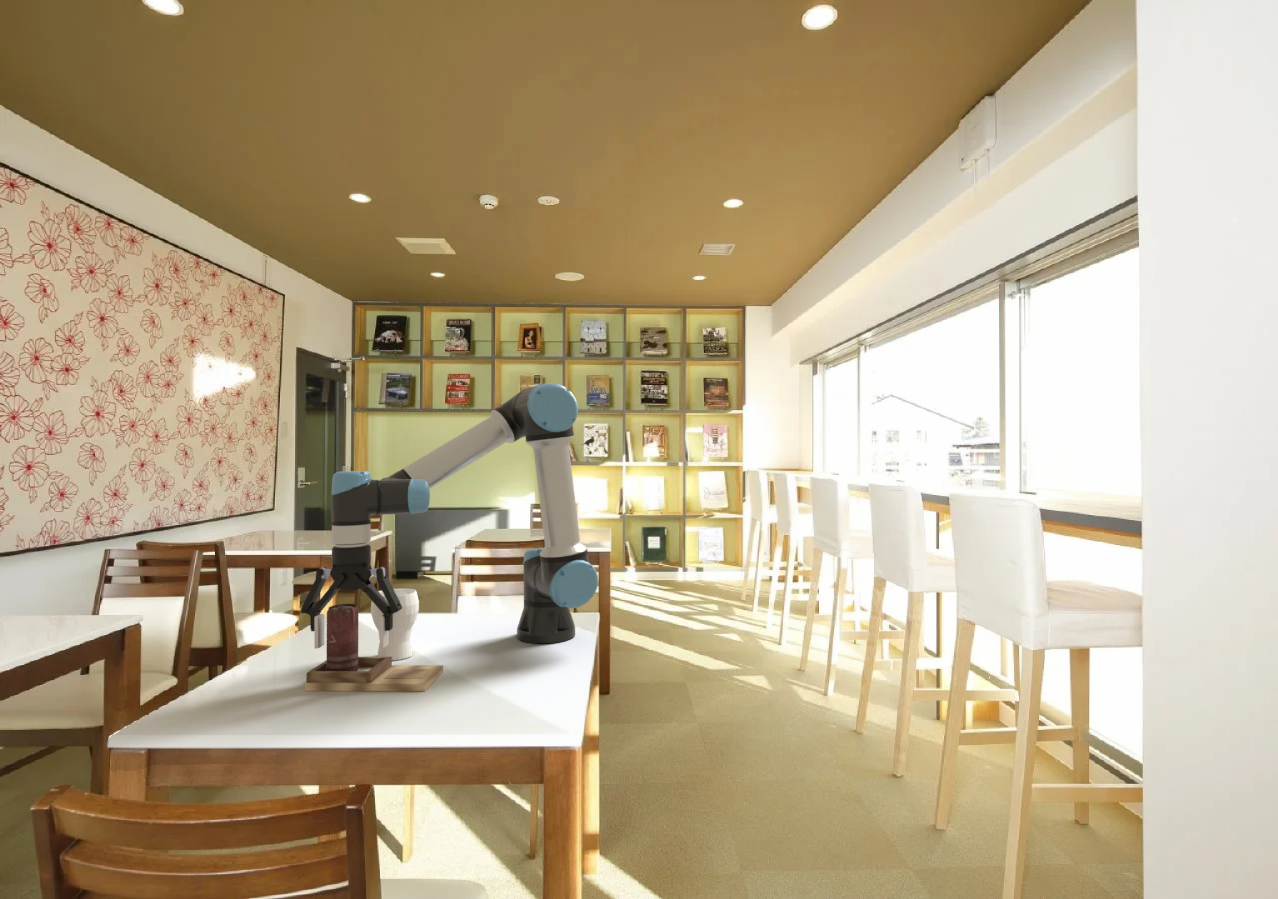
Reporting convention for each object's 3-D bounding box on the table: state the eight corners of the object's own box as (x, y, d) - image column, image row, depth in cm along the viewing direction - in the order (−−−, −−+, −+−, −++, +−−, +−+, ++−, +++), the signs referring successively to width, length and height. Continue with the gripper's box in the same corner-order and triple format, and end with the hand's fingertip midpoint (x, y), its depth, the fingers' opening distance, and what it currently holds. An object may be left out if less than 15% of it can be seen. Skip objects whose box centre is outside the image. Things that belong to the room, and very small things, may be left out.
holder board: (443, 672, 146) (443, 656, 146) (424, 691, 134) (424, 673, 134) (333, 672, 146) (333, 656, 146) (305, 691, 134) (305, 673, 134)
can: (346, 679, 136) (346, 610, 137) (319, 676, 138) (320, 608, 138) (365, 670, 142) (365, 603, 142) (339, 667, 144) (340, 602, 144)
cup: (360, 659, 156) (360, 594, 156) (396, 647, 165) (396, 586, 165) (393, 665, 151) (393, 598, 151) (428, 653, 160) (428, 590, 160)
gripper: (416, 542, 144) (417, 641, 144) (301, 542, 144) (301, 641, 144) (404, 546, 137) (404, 651, 136) (282, 547, 137) (282, 652, 137)
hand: (351, 646), depth 140 cm, fingers open, 13 cm apart
